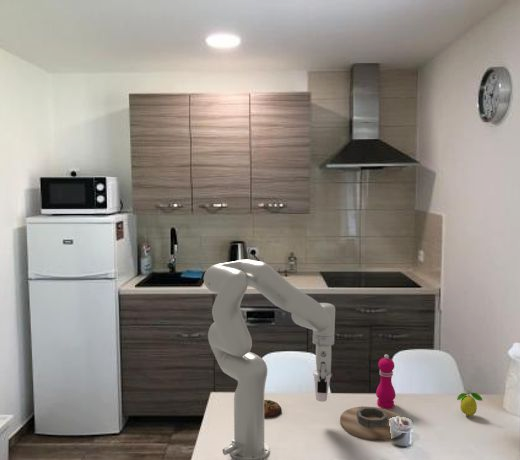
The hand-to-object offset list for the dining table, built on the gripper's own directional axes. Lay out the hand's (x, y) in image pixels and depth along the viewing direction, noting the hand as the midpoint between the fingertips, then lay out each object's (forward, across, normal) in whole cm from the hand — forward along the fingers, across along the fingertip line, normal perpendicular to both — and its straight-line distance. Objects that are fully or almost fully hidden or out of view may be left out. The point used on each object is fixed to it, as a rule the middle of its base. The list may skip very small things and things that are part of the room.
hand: (321, 388), depth 171 cm
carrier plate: (+12, +1, -18) cm, 22 cm away
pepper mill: (+12, +17, -25) cm, 33 cm away
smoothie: (+4, 0, 0) cm, 4 cm away
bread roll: (+13, +8, +20) cm, 25 cm away
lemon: (+11, +11, -54) cm, 56 cm away
